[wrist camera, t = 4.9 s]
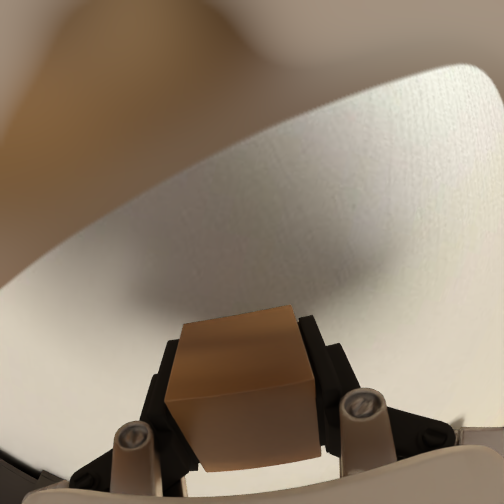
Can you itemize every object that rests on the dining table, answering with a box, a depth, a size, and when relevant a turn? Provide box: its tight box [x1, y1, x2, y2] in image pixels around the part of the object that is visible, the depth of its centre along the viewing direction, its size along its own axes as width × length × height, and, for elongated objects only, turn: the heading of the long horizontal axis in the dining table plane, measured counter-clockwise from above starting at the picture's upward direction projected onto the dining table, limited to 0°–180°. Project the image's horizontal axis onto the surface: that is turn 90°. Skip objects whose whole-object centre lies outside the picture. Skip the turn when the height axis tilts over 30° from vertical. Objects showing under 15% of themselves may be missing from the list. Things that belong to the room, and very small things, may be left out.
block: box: [164, 305, 321, 472], centre depth 10 cm, size 4×4×4 cm
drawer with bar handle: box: [0, 459, 38, 504], centre depth 18 cm, size 19×11×8 cm, turn 71°
